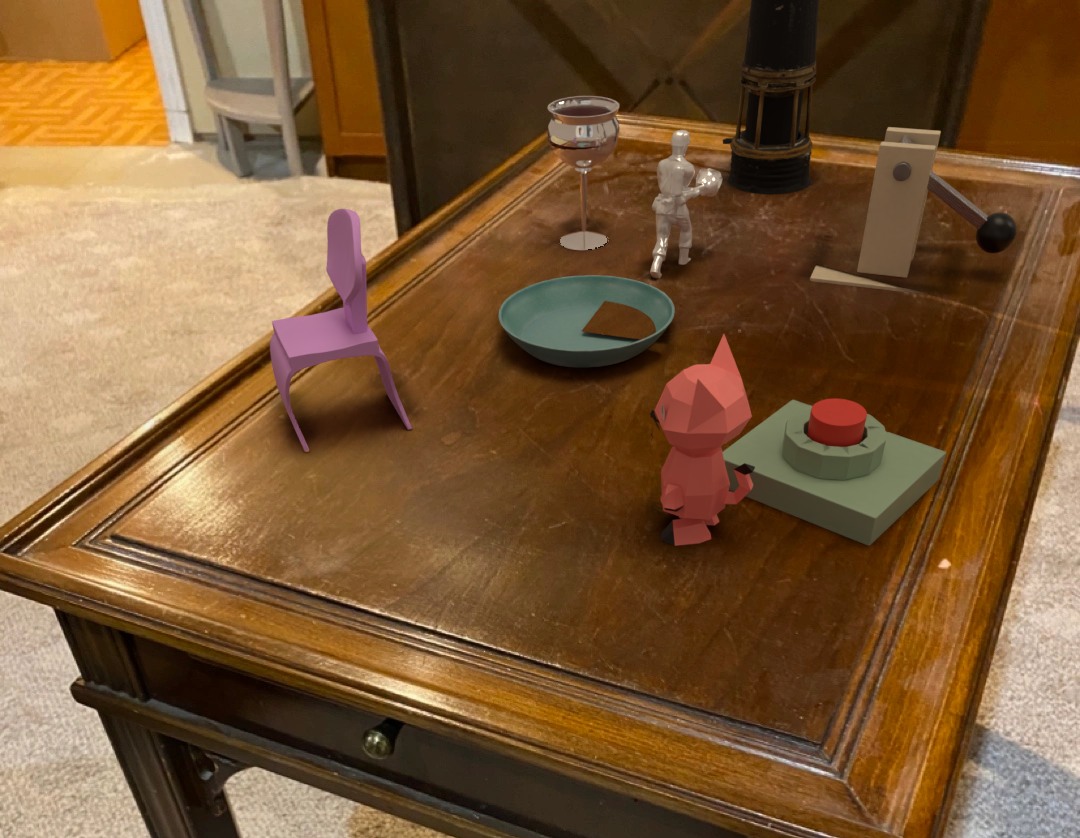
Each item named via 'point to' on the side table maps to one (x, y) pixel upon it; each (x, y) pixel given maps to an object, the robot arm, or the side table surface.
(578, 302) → the saucer
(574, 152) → the wineglass
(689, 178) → the figurine
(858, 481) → the button block
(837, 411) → the button
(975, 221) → the lever
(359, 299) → the toy chair
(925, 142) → the bracket
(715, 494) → the cat figurine
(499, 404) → the side table surface
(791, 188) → the lantern
